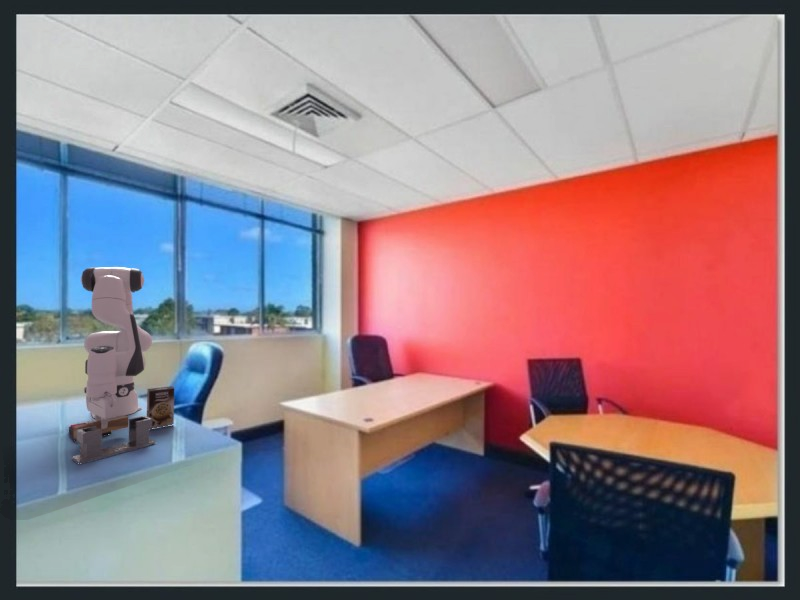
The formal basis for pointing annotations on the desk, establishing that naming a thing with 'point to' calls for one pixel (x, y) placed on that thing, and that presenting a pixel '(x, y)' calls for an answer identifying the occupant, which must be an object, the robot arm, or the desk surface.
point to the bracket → (93, 445)
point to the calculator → (82, 424)
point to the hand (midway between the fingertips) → (101, 426)
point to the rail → (112, 425)
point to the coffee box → (160, 406)
